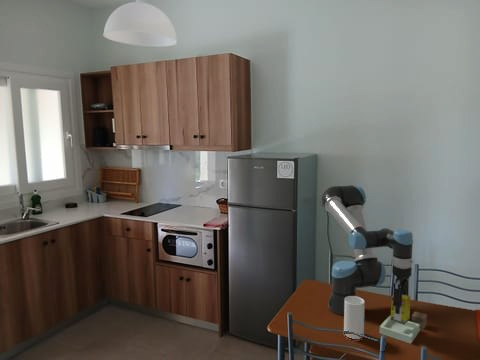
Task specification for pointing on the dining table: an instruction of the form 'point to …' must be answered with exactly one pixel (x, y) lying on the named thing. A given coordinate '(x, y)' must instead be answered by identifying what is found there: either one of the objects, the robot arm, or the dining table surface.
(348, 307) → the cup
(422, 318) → the walnut block
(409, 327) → the tray
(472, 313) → the dining table surface
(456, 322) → the dining table surface
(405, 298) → the supplement box
